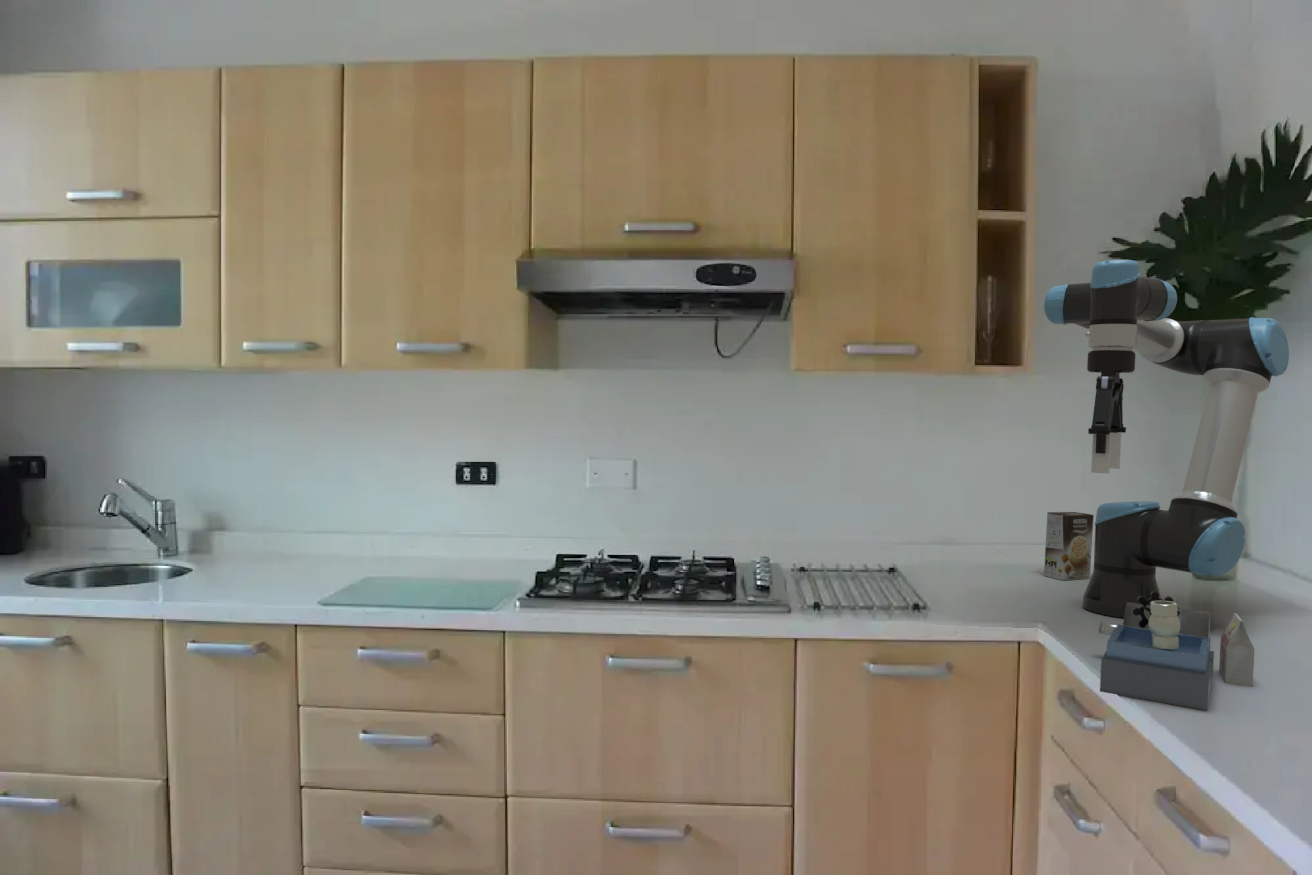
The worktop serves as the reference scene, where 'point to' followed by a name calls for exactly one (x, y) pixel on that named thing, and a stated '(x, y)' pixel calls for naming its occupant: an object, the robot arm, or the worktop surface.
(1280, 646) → the worktop surface
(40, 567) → the worktop surface
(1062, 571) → the coffee box
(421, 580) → the worktop surface
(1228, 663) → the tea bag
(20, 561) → the worktop surface
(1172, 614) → the valve
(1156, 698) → the motor
